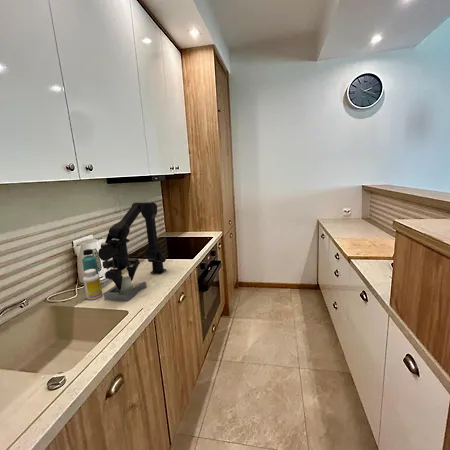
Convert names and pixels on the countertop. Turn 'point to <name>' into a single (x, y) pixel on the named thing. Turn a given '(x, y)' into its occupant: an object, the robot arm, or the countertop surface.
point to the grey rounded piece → (126, 284)
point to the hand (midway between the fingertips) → (125, 285)
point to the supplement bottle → (92, 284)
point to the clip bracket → (113, 294)
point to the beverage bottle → (89, 261)
